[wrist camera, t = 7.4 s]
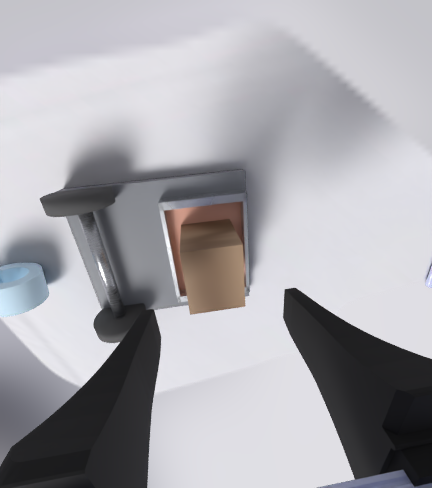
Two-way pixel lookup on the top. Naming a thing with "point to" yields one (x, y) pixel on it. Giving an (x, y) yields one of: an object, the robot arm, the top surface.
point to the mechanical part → (21, 288)
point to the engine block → (212, 266)
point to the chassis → (145, 238)
